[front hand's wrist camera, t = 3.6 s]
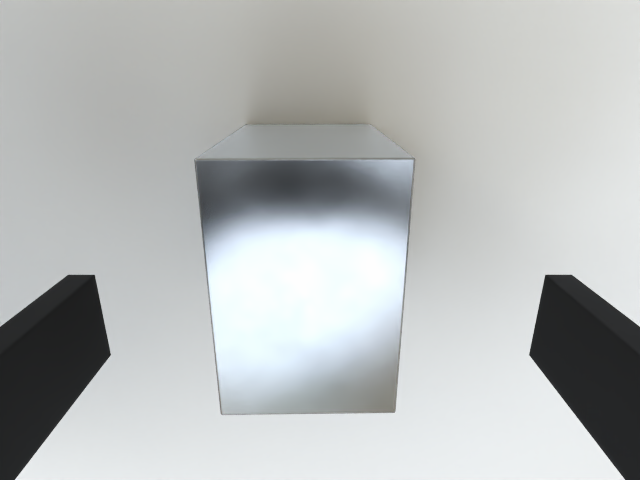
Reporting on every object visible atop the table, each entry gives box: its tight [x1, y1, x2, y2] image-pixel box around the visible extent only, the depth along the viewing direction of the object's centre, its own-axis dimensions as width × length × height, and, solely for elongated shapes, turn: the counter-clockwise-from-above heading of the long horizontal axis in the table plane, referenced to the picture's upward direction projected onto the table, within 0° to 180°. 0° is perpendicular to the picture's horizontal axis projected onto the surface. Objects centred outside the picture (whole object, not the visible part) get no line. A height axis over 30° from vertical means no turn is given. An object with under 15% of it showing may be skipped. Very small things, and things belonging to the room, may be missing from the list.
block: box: [195, 124, 415, 415], centre depth 18 cm, size 6×9×9 cm
